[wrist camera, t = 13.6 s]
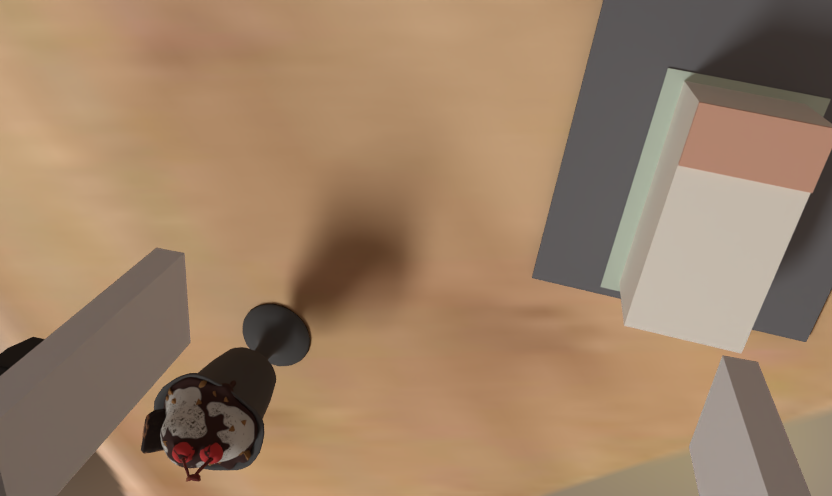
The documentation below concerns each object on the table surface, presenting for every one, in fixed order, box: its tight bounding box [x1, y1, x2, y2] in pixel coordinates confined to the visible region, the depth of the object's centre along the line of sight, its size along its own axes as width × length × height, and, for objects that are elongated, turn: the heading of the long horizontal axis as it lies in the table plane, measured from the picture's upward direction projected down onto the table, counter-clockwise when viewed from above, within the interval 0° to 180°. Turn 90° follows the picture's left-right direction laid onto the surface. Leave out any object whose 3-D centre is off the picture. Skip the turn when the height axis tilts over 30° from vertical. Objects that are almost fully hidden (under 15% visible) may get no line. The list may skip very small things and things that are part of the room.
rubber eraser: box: [619, 81, 832, 353], centre depth 36 cm, size 12×6×5 cm, turn 172°
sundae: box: [141, 304, 310, 481], centre depth 42 cm, size 7×7×15 cm
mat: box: [532, 0, 832, 342], centre depth 36 cm, size 22×16×1 cm
